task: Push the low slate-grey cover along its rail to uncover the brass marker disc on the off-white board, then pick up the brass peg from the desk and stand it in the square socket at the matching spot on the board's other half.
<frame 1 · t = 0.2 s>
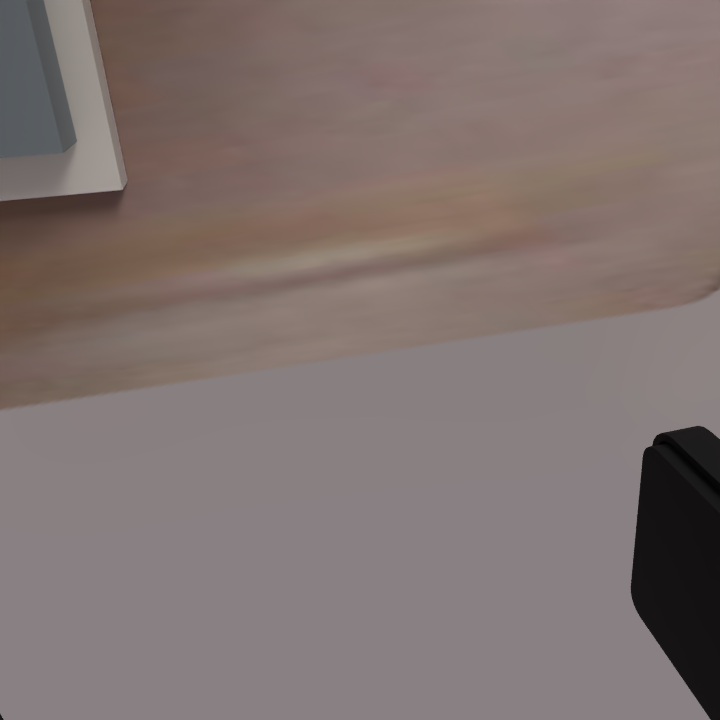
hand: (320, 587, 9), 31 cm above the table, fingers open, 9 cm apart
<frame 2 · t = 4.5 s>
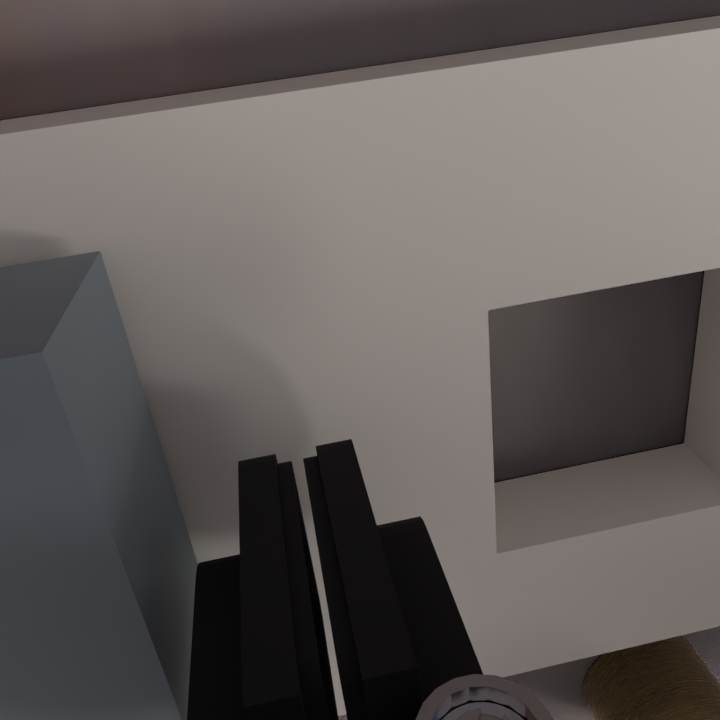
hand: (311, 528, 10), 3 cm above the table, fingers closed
pin: (638, 674, 18), on the table
board: (230, 432, 13), on the table
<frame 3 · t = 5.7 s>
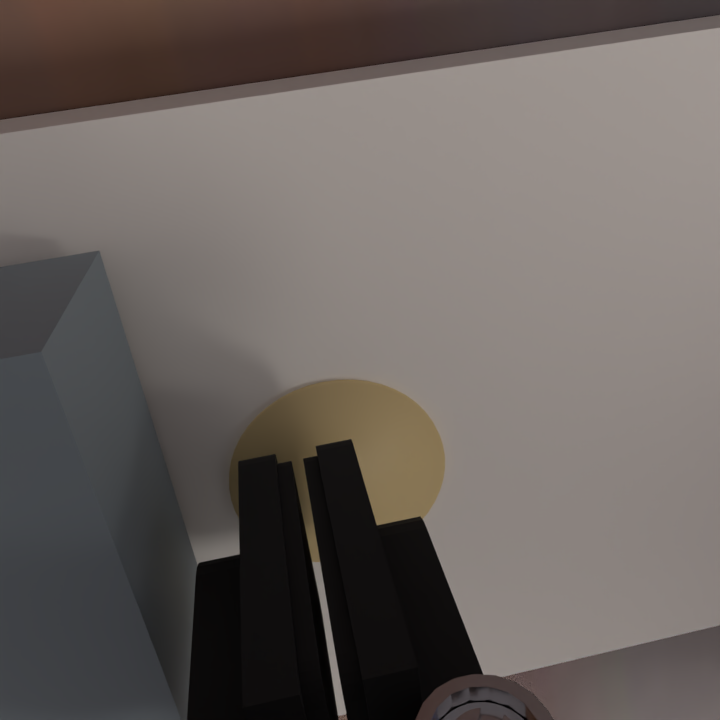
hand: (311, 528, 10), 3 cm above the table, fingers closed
board: (570, 365, 14), on the table
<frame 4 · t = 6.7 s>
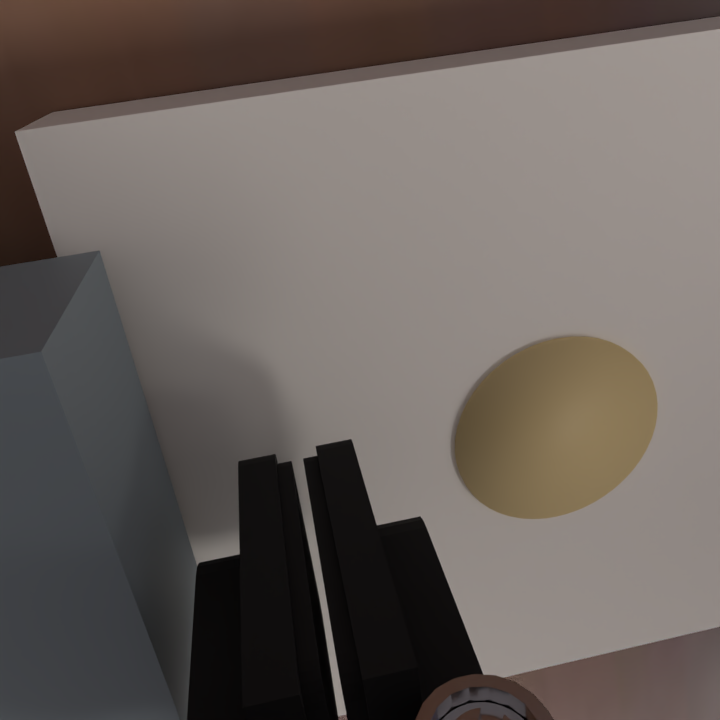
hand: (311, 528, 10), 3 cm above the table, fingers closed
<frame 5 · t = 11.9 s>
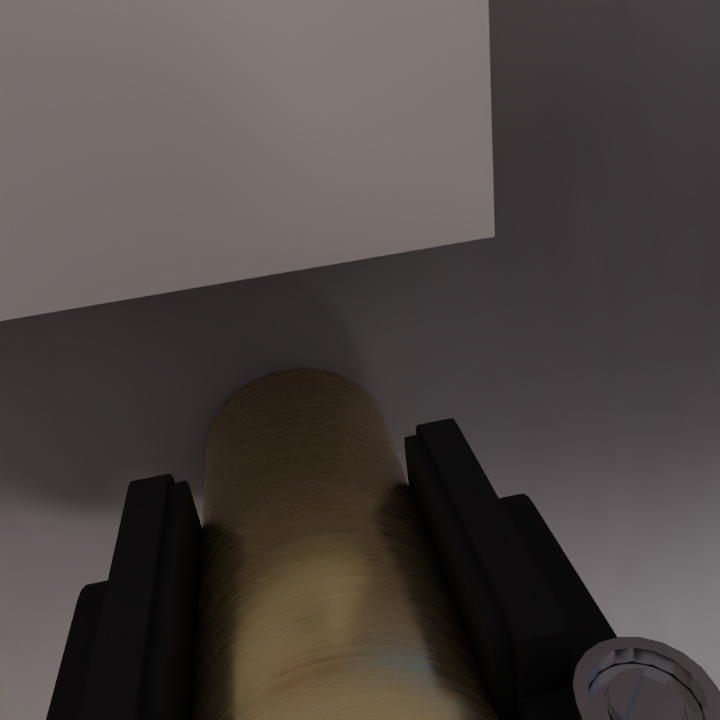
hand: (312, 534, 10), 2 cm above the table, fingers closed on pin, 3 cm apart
pin: (298, 449, 12), on the table, touching gripper
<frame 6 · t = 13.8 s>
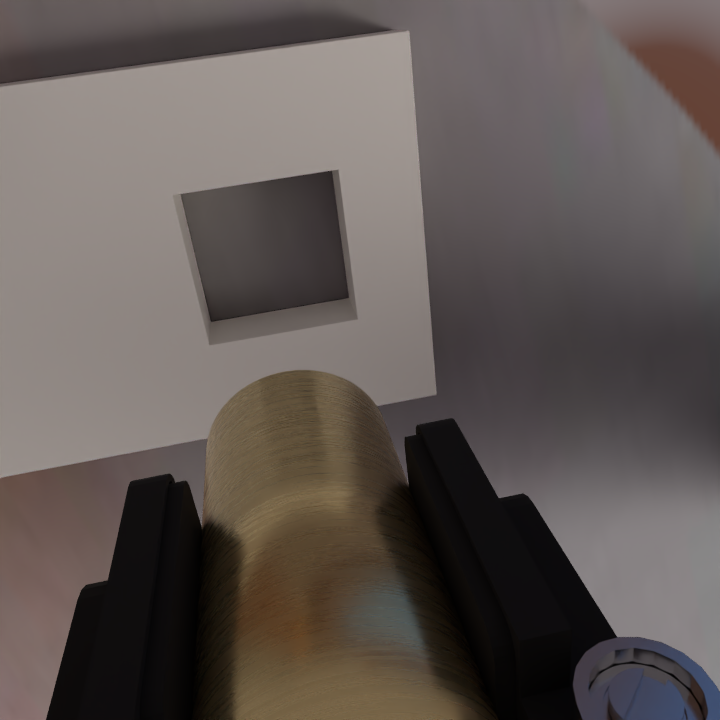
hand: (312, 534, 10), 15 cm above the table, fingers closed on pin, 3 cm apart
pin: (298, 450, 12), point 13 cm above the table, touching gripper
board: (59, 277, 23), on the table
when the fingers open (2 cm above the table, at t = 16.2 s): pin stays where it is, resting in board.
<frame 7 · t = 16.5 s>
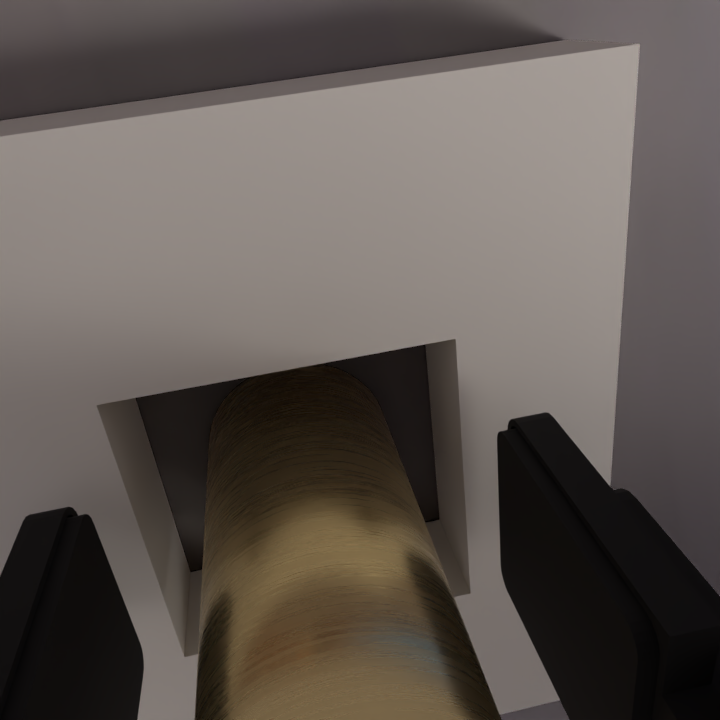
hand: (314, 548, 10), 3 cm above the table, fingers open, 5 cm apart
pin: (299, 441, 12), resting in board
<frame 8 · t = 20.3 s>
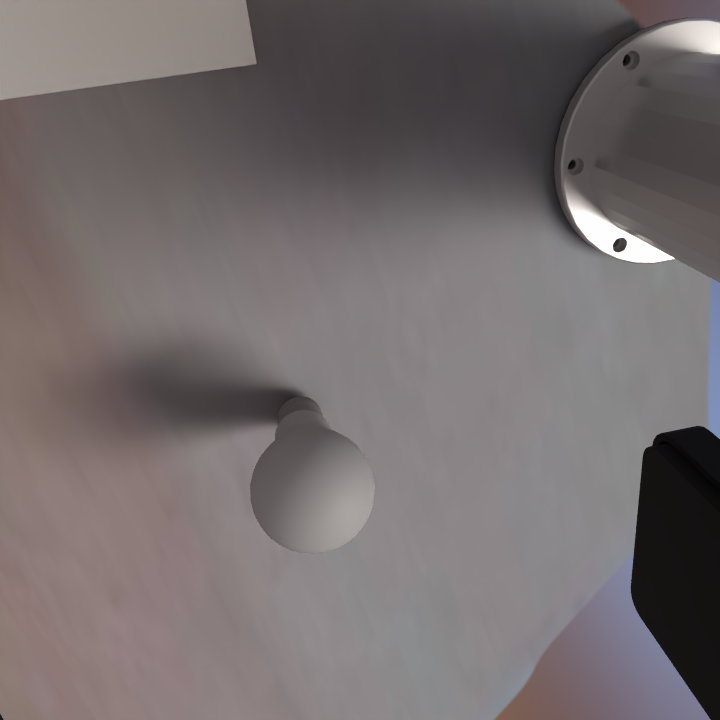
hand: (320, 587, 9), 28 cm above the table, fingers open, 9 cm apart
lightbulb: (298, 406, 41), on the table
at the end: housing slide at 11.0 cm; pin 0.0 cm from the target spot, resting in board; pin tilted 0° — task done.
